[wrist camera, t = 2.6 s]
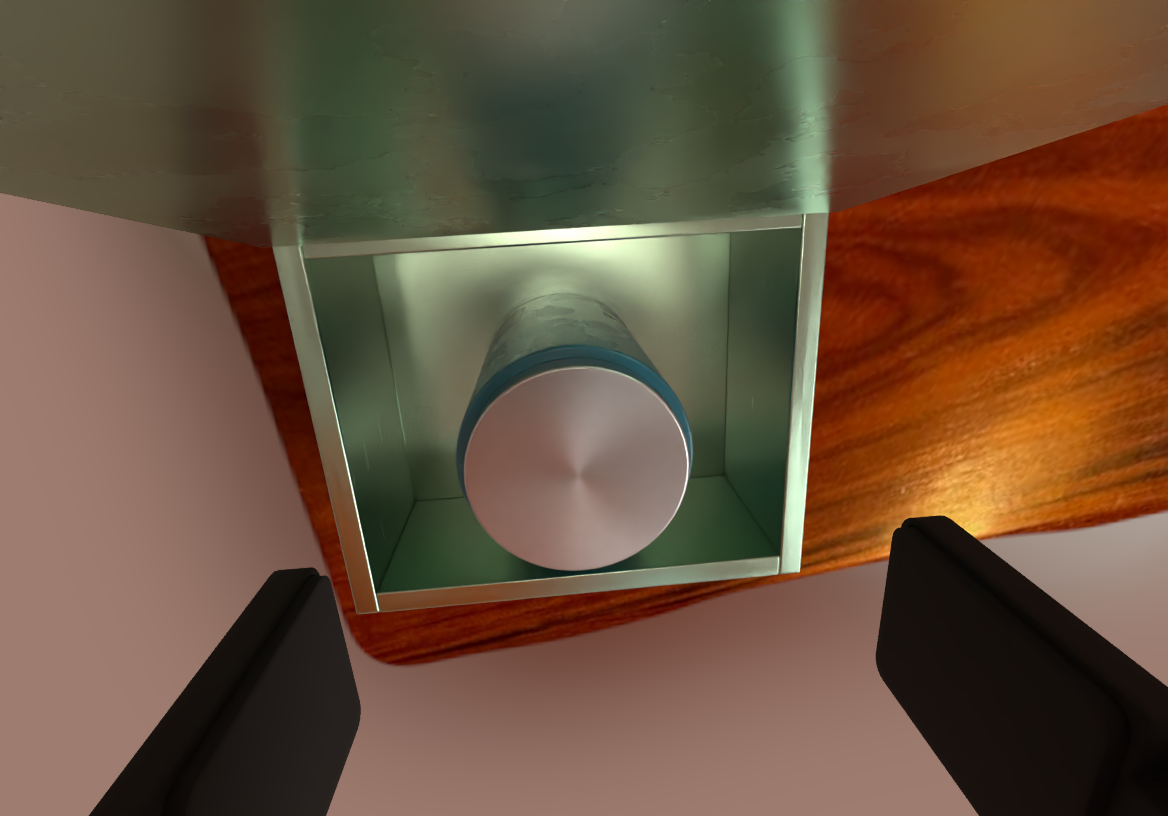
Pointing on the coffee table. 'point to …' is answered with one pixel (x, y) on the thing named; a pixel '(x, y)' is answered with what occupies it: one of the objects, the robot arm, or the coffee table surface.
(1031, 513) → the coffee table surface
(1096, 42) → the lid
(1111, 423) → the coffee table surface
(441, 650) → the coffee table surface
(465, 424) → the can
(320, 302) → the box
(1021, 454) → the coffee table surface
